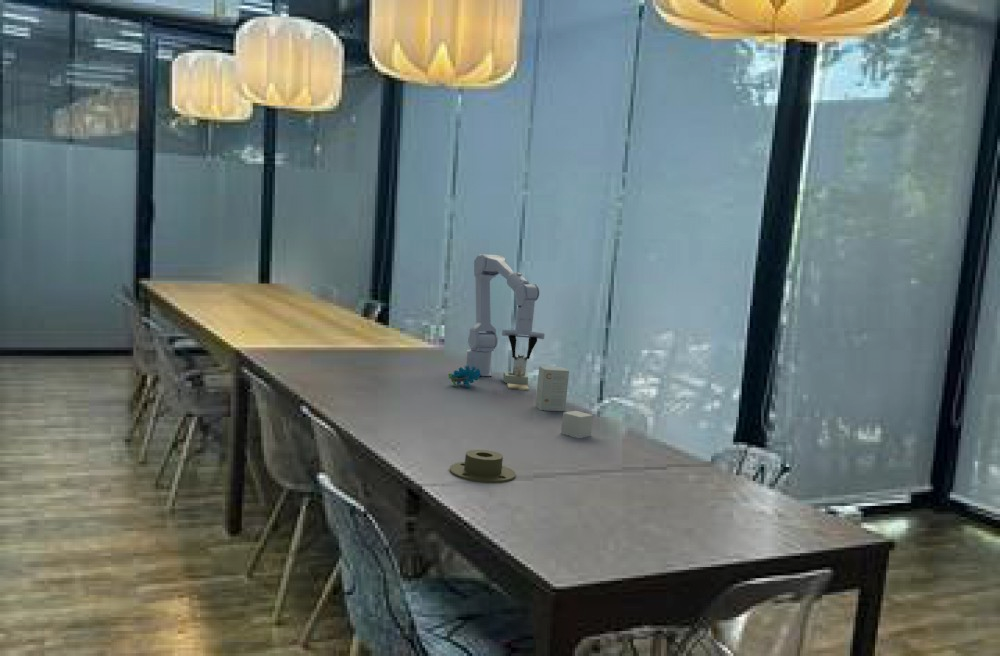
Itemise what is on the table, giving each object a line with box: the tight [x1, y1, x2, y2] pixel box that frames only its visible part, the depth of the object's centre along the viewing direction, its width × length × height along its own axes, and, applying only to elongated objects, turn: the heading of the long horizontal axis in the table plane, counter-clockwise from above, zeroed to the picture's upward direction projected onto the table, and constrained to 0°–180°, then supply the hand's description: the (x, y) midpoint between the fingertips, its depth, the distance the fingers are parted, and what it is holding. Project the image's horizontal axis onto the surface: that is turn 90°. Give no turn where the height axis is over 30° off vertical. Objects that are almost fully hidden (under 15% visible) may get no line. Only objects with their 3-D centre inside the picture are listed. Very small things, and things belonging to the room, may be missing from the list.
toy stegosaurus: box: [448, 366, 482, 389], centre depth 307 cm, size 11×6×10 cm
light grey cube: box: [560, 410, 594, 439], centre depth 253 cm, size 6×6×6 cm
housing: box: [502, 371, 529, 386], centre depth 324 cm, size 8×8×3 cm
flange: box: [449, 449, 517, 484], centre depth 206 cm, size 5×15×15 cm
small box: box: [535, 365, 570, 412], centre depth 284 cm, size 8×6×13 cm
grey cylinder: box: [512, 354, 528, 377], centre depth 315 cm, size 4×4×7 cm
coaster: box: [506, 383, 530, 391], centre depth 315 cm, size 7×7×1 cm
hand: (520, 357), depth 314 cm, fingers closed on grey cylinder, 4 cm apart
